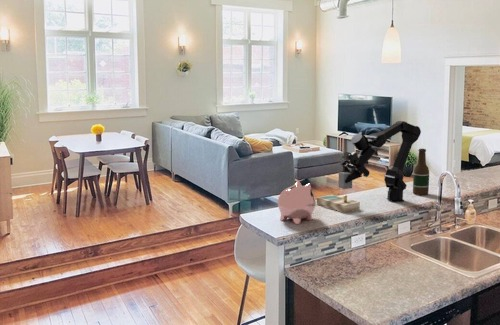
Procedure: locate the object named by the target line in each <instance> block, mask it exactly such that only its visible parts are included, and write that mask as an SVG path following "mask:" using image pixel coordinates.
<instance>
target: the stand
mask: <svg viewBox="0 0 500 325" xmlns="http://www.w3.org/2000/svg"><path fill="white" fill-rule="evenodd" d="M343 200H344V196H343V197H342V196H340V195H335V194H328V195H322V196H317V197H316V205H318V206H321V207H324V208H327V209H329V210H330V209H331V210H332V211H333V210H334V211H336V210H337V212H340V213H343V214H345V213H349V212H355V211H358V209H359V210H360V209H361V208H360V207H361V206H360V204H361V203H360V201H357V200H353V199H349V198H347V202H343Z"/></svg>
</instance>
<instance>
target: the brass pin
mask: <svg viewBox="0 0 500 325" xmlns="http://www.w3.org/2000/svg"><path fill="white" fill-rule="evenodd" d="M343 198H344V200H343V202H347V199H348V195H346V194H345V195H343Z"/></svg>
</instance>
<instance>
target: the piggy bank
mask: <svg viewBox="0 0 500 325" xmlns="http://www.w3.org/2000/svg"><path fill="white" fill-rule="evenodd" d="M312 189H313V188H312V185H311V183H307V184H305V185H302V183H301V182H300V181H296V182H295V183H294V184H293V185H291V186H288V187H287V188H284V189H283V190H282V192H281V193H280V194H279V196H278V199H277V208H278V210H279V212H280V218H279V221H287V220H288V219H290V220H292V221H293V224H295V225H300V224H301V223H302V220H303V219H305V220H307V221H312V220H313V213H314V211H315V208H316V205H317V199H316V197H315V195H314V191H313V190H312Z"/></svg>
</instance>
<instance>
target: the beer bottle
mask: <svg viewBox="0 0 500 325" xmlns="http://www.w3.org/2000/svg"><path fill="white" fill-rule="evenodd" d="M426 152H427V149H426V148H419V149H418V157H417V162H416V164H415V166H414V169H413V174H412V175H413V176H412V177H413V178H412V193H413V195H415V196H420V197H421V196H428V195H429V190H430V188H429V187H430V186H429V185H430V170H429V166H428V165H427V158H426V157H427V156H426V155H427V154H426Z"/></svg>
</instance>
